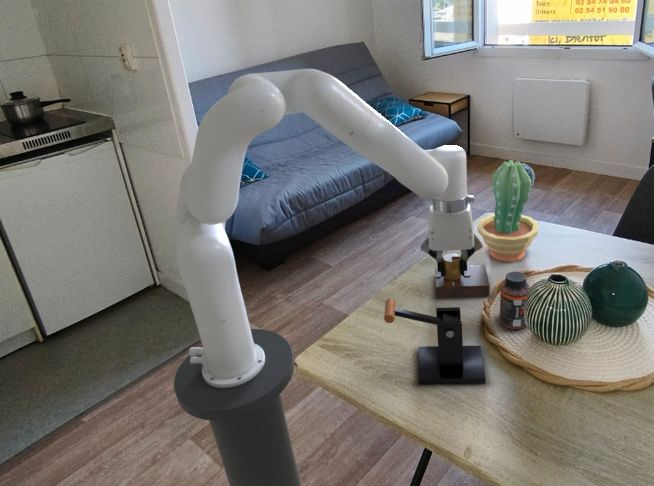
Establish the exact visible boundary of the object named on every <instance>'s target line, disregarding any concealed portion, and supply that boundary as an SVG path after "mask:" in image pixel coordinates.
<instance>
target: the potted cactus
mask: <svg viewBox="0 0 654 486" xmlns="http://www.w3.org/2000/svg"><path fill="white" fill-rule="evenodd" d="M535 174H536V173H535V172H534V170H533V168H532V167H531V166H529V164H526V163H524V162H523V163H521V162H520V160H517V161H515V162H514V160H512V159H509V160H508V161H506V160H505V161H503V162H502V163H501V164H500V166H499V167H498V168H497V169H496V170H495V171H494V174H493V175H492V188H493V189H492V192H493V197H494V199H495V205H494V206H495V207H494V213H493V214H489V215H486V216H485V217H483V218H481V219H479V220H478V222H477V223H478V224H477V225H476V230H477V232H478V234H479V235H480V236H481V237H482V239H483V243H484V244H485V245H486V246H487V247H488V249H489V250H490V251H489V255H490V256H491V257H492V259H495V260H498V261H500V262H509V263H510V262H511V263H512V262H516V261H520V260H521V259H523V258H524V257H525V254H526V251H527V249H528V248H529V247H530V246H531V244H532V242H533V240H534V238H536V237H537V236H538V233H539V227H540V226H539V223H538V222H537V220H535V219H534V218H532V217H531V216H527V215H525V214H523V211H524V208H525V206H526V203H527V201H528V200H529V198H530V196H531V195H530V194H531V188H532V186H534V182H535V180H536V176H535Z"/></svg>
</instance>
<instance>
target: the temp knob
mask: <svg viewBox="0 0 654 486" xmlns="http://www.w3.org/2000/svg"><path fill="white" fill-rule="evenodd" d="M460 256H461V254H460V255H459V254H458V253H453V252H452V253H451V252H449V253H446V254H444V255H443V256H442V257H443V264H444V277H445V278H446V279H447V280H457V279H459V278H460V277H461V257H460Z"/></svg>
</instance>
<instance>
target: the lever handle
mask: <svg viewBox="0 0 654 486" xmlns="http://www.w3.org/2000/svg"><path fill="white" fill-rule="evenodd" d="M395 317H399V318H403V319H408V320H412V321H415V322H416V321H417V322H422V323H424V324H430V325H435V326H437V321H458V317H457V316H452V315H448V314H443V315H442V318H438V317H436V316H433V315H429V314H424V313H420V312H416V311H411V310H406V309H402V308H397V307H396V301H395V299H393V298H387V299H386V300H385V305H384V316H383V320H384V322H385V323H387V324H392V323H394V322H395Z"/></svg>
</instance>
